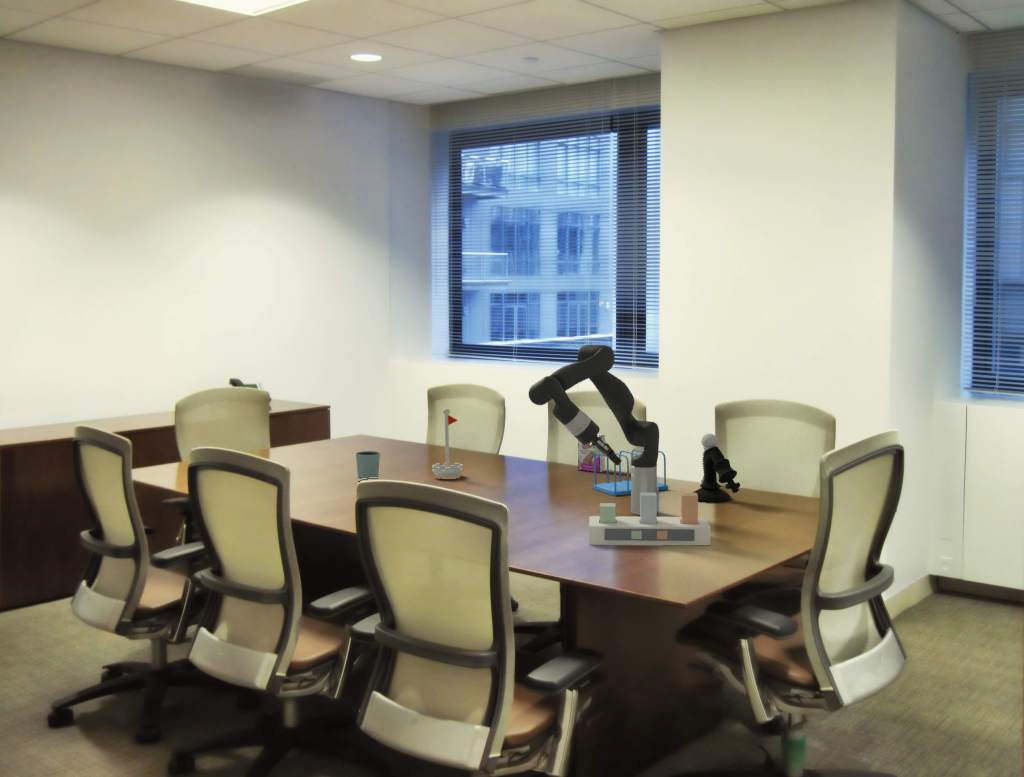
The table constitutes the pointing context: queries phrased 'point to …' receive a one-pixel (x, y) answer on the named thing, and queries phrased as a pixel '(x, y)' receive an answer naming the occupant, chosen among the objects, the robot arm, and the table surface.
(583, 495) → the table surface
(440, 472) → the flag stand
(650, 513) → the key grey
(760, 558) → the table surface
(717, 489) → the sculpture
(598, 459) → the candy bar box
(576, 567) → the table surface
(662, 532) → the white flat bar
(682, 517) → the key terracotta
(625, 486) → the file sorter
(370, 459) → the teal tapered cup
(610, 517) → the key sage
